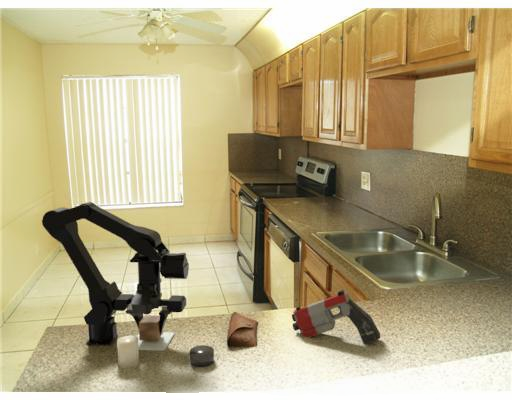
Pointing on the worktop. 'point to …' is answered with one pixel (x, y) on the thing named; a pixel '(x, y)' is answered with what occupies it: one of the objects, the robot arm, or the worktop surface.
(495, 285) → the worktop surface
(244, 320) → the sunglasses case
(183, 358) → the worktop surface
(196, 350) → the black tin
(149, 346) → the tile
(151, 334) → the walnut cube
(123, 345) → the stoneware jar
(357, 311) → the toy gun
